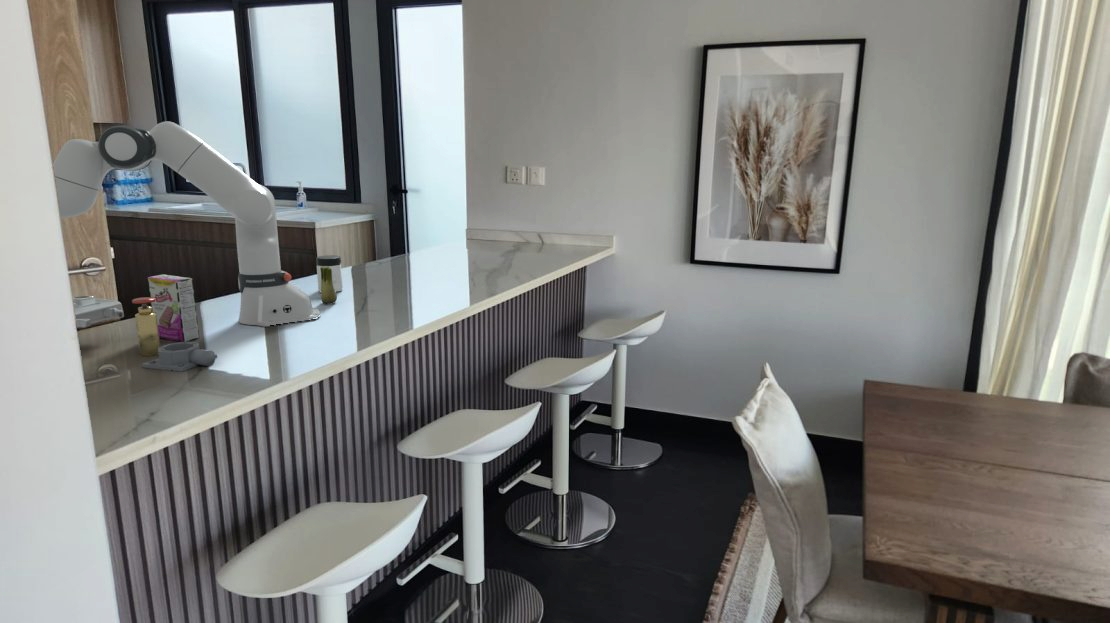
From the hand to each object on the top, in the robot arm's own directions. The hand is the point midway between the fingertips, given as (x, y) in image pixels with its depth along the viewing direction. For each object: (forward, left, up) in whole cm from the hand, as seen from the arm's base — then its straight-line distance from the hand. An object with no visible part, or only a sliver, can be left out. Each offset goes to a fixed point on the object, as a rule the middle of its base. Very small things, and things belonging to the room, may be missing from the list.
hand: (105, 318), depth 169 cm
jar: (-60, -52, -8) cm, 80 cm away
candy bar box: (-15, -5, -8) cm, 18 cm away
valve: (-10, +8, -8) cm, 15 cm away
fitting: (-18, +20, -8) cm, 28 cm away
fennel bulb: (-57, -32, -8) cm, 66 cm away
